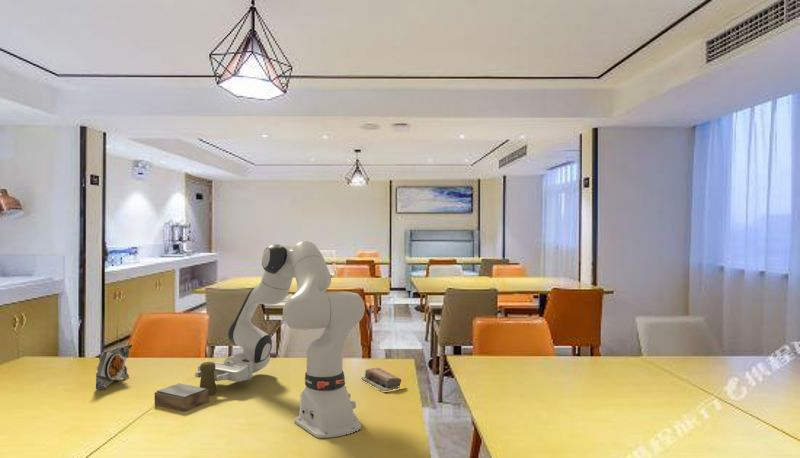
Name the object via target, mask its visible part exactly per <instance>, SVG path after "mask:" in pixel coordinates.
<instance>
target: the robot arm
mask: <svg viewBox="0 0 800 458" xmlns="http://www.w3.org/2000/svg"><path fill="white" fill-rule="evenodd" d="M261 257H262V258H261V266H262V267H263V270H264V272H263V274H262V277H261V280H260V282H259V284H258V285H256V286H253V287H252V288H251V289H250V291H249V292H248V294H247V295H246V297H245V299H244V301H243V303H242V305H241V307H240V309H239V311H238V314H237V315H236V316H235V317H236V318H235V319H234V321H232V323H231V325H230V326H229V328H228V331H227V337H228V340H229V342H230V343H232V344H234V345H236V346H237V347H239V348H241V349H243V352H241V353H237V354H234V355H231V356H228V357H226V358H225V359H224V361H223V362H222V361H221V362H220V361H212V362H213V363H215V370H214V377H215V382H221V381H230V382H235V383H236V382H239V383H240V382H243V381H246V380H251V379H253V374H254V373H255V374H256V373H257V372H259V371H261V370H263V369H265V367H266V366H267V365H268V364H269V363H270V361H271V350H272V349H273V348H272V346H273V339H272V337H271V335H270V334H268V333H267V332H265V331H263V330H262V329H260V328H259V327H258V326H255V325H254V324H253V323H252V318H253V316H254V314H255V311H256V309H257V308H258V305H265V306H266V305H267V306H273V305H277V304H281V303H282V302H283V301H285V299H286V298H287V296H288V295H289V292H290V289H291V286H292V282H293V278H294V279H295V281H296V287H297V289H296V291H295V293H294V294H292V295H291V296H290V297H288V298H287V299H286V301H285V303H284V305H283V307H282V315H283V316H282V317H283V320H284V322H285V324H286V326H288V327H289V328H290V329H293V330H304V331H307V330H316V329H317V330H319V329H323V332H322V333H321V335H320V336H319V337H318V338H317V339H315V340H313V341H312V342H310V344H309V346H308V347H307V349H306V372H305V376H304V384H305V388H303V390H302V392H301V393H300V396H299V398H300V399H299V412H298V414H299V415H298V416H296V417H295V418H294V423H295V424H296V425H297V426H299V427H301V428H302V429H303V430H305V431H307V432H308V433H310V434H311V435H312V436H313V437H315V438H316V439H317V438H320V439H324V438H325V439H327V438H335V437H336V438H337V437H341V436H347V435H350V433H351V434H354V433H356V432H355V431H357V432H359V431H360V430H362V425H361V423H360V421H359V418H358V417H357V415H356V413H355V411H354V410H355V409H356V408H357V405H356V404H357V402H356V401H355V400H351V397H352V396H351V393H349V392H348V390H347V386H345V385H346V380H345V379H346V377H345V372H344V370H343V359H344V348H345V344H346V341H347V339H348V336H349V335H350V333H351V331H352V330H353V328H355V326H357V325H358V324H359V322H361V321H362V319H363V317H364V315H365V309H366V308H365V302H364V300H363V298H362V297H361V295H360V294H359V293H357V292H351V291H344V290H343V291H327V290H328V289H329V288H330V286H331V283H332V275H331V273H330V271H329V268H328V266H327V263H326V261H325V258H324V256H323V254H322V253H321V250H320V249H319V248H318V247H317V246H316V244H315V243H313V242H312V241H309V240H302V241H300V242H297V243H296V244H295V245H294V246H293V245H281V244H280V243H279V244H270V245H268V246H267V247H266V248H265V249H264V251H263V252H262V256H261ZM201 364H202V363H200V364H198V366H197V371H196V372H195V373H194V374H195V378H199V379H201V373H202V372H201V371H200V365H201ZM359 429H360V430H359ZM358 430H359V431H358ZM353 432H354V433H353ZM346 434H347V435H346Z"/></svg>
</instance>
